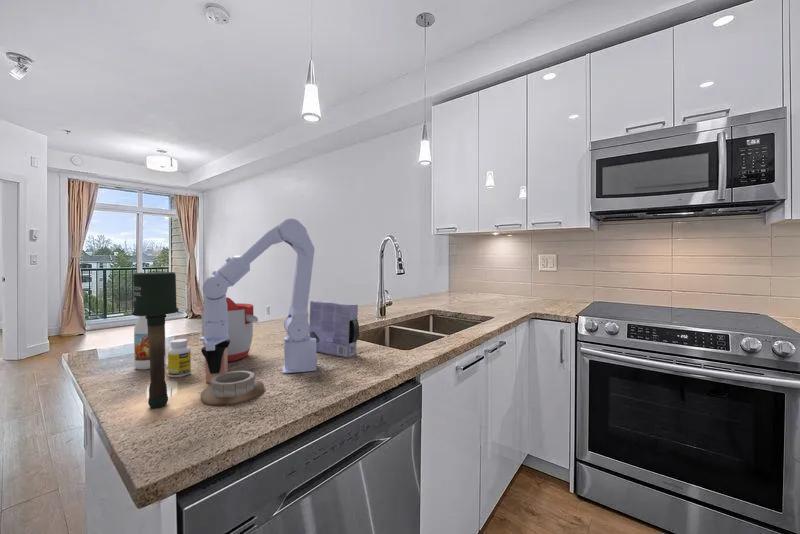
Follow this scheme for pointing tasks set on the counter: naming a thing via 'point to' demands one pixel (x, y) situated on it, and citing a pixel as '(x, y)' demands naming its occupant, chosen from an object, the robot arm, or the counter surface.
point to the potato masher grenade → (155, 324)
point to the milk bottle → (142, 345)
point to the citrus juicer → (237, 329)
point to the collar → (232, 388)
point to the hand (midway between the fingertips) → (217, 370)
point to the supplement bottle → (179, 358)
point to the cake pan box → (334, 327)
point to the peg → (222, 370)
